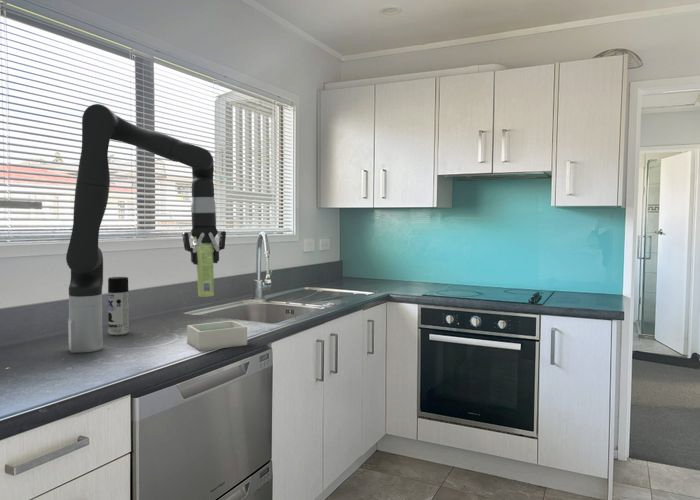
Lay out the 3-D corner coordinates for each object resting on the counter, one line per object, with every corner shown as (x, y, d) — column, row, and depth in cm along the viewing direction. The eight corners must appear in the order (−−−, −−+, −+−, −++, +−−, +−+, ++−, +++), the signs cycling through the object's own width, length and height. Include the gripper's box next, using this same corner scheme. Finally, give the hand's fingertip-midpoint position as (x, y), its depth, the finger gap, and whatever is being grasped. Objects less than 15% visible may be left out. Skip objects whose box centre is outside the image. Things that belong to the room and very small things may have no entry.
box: (199, 351, 165) (199, 332, 165) (187, 343, 175) (187, 325, 175) (247, 344, 174) (247, 326, 174) (233, 337, 184) (233, 320, 184)
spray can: (105, 333, 188) (104, 277, 187) (124, 330, 193) (123, 276, 192) (113, 336, 184) (112, 279, 182) (132, 333, 188) (131, 277, 187)
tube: (200, 295, 175) (197, 235, 173) (215, 294, 175) (213, 235, 174) (196, 297, 169) (194, 236, 168) (212, 297, 170) (210, 236, 168)
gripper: (184, 211, 163) (186, 266, 164) (229, 211, 171) (231, 263, 172) (177, 212, 169) (179, 264, 170) (221, 211, 177) (222, 261, 178)
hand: (205, 263), depth 171 cm, fingers closed on tube, 6 cm apart
